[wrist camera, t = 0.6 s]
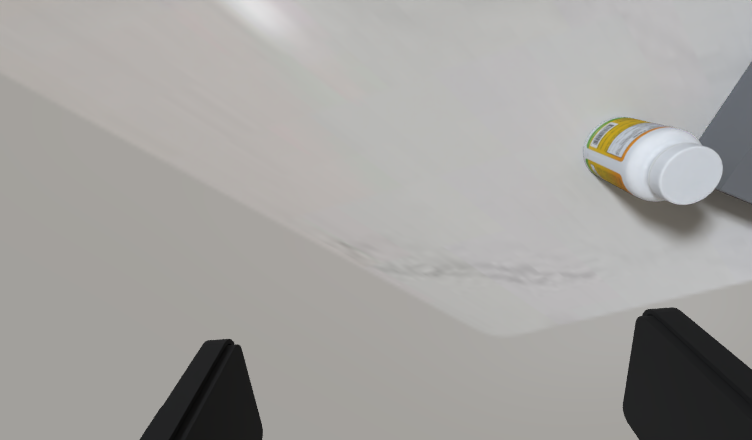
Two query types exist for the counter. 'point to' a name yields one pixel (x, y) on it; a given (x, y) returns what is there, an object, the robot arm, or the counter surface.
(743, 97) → the control panel
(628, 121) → the supplement bottle
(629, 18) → the counter surface
